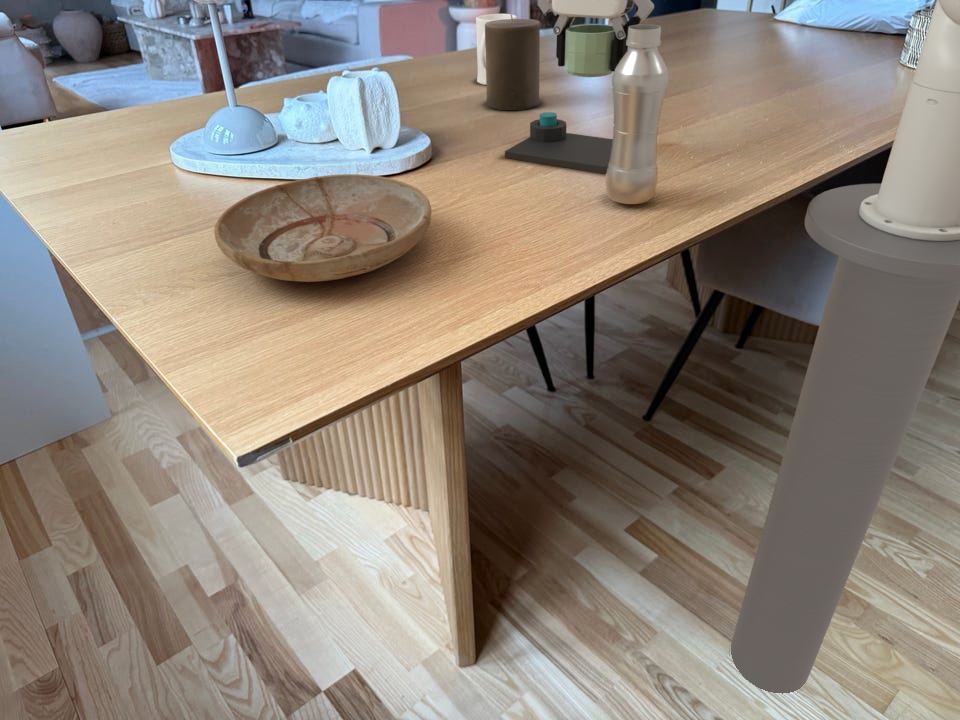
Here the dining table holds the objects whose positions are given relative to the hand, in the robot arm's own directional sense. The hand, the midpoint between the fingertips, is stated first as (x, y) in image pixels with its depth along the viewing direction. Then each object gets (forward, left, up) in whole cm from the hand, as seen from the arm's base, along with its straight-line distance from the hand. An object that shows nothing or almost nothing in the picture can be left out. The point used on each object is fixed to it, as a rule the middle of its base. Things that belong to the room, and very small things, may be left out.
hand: (590, 65), depth 96 cm
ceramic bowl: (+11, +43, -13) cm, 46 cm away
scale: (+2, 0, -12) cm, 13 cm away
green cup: (0, 0, -1) cm, 1 cm away
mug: (+36, -34, -13) cm, 51 cm away
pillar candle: (+24, -21, -13) cm, 35 cm away
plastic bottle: (-12, +14, -13) cm, 22 cm away
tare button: (+8, -3, -10) cm, 13 cm away
